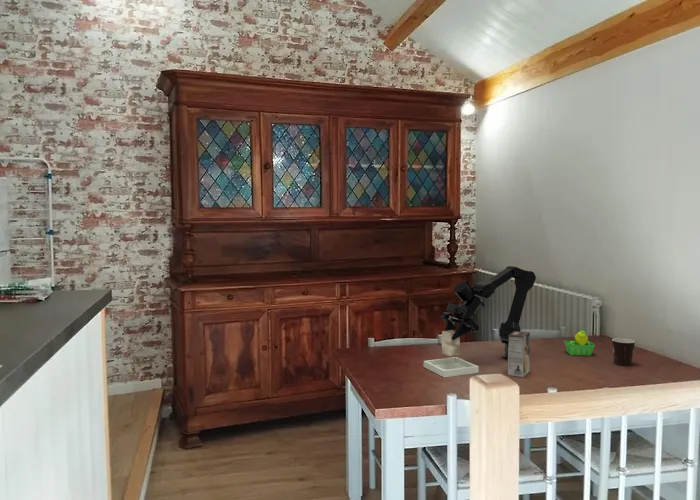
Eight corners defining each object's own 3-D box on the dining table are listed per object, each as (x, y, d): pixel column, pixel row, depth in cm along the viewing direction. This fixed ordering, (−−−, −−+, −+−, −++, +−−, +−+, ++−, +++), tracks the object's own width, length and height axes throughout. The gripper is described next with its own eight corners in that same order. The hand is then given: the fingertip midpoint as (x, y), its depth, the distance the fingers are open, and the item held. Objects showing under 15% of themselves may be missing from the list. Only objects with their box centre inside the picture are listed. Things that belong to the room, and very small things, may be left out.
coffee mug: (615, 360, 237) (616, 337, 236) (637, 363, 231) (638, 340, 230) (605, 365, 229) (605, 341, 228) (627, 369, 223) (628, 345, 222)
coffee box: (513, 369, 225) (514, 330, 223) (529, 371, 221) (530, 332, 220) (507, 375, 217) (507, 334, 216) (523, 377, 213) (524, 336, 212)
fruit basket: (589, 352, 251) (589, 327, 250) (596, 357, 242) (596, 331, 242) (563, 351, 252) (564, 327, 252) (569, 356, 244) (569, 331, 243)
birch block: (451, 351, 228) (451, 330, 227) (459, 354, 223) (459, 332, 223) (441, 353, 225) (441, 331, 225) (449, 356, 221) (449, 333, 220)
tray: (478, 372, 220) (478, 366, 220) (444, 377, 214) (444, 371, 214) (456, 362, 235) (456, 356, 235) (423, 366, 229) (423, 360, 229)
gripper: (444, 293, 233) (422, 321, 228) (474, 299, 216) (451, 330, 212) (458, 309, 237) (438, 338, 233) (489, 316, 221) (467, 347, 216)
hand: (448, 338), depth 223 cm, fingers closed on birch block, 5 cm apart
